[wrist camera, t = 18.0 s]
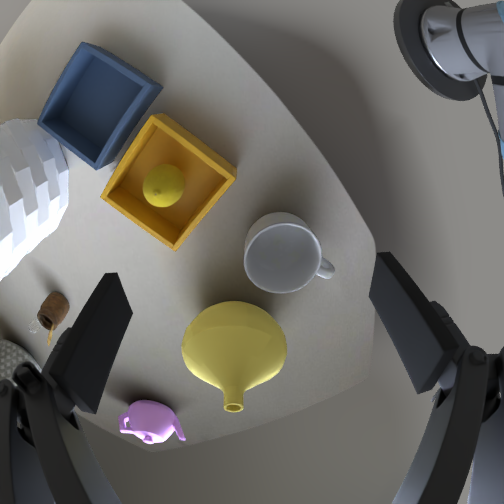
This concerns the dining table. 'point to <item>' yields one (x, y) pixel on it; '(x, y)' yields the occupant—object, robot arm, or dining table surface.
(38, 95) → the dining table surface
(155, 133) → the yellow bin
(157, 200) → the lemon
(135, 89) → the blue bin
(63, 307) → the utensil holder
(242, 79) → the dining table surface
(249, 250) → the teacup
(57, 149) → the white brick well
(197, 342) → the vase
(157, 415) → the teapot
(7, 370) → the planter
